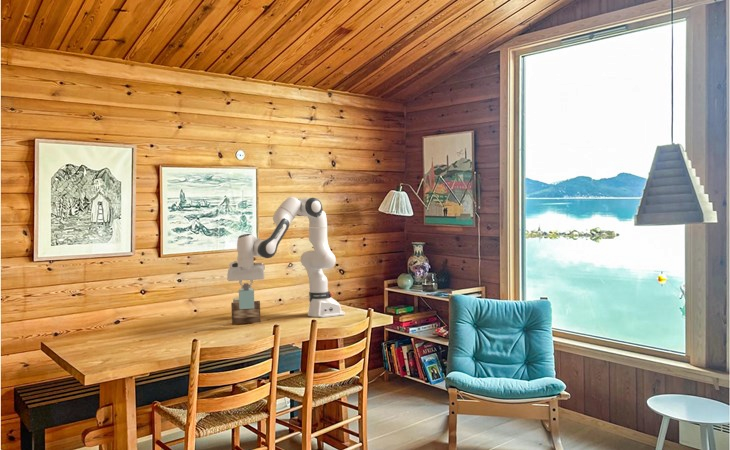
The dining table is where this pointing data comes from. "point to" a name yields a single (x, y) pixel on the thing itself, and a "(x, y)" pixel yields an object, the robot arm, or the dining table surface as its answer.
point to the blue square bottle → (246, 297)
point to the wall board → (245, 313)
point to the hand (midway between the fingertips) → (246, 288)
